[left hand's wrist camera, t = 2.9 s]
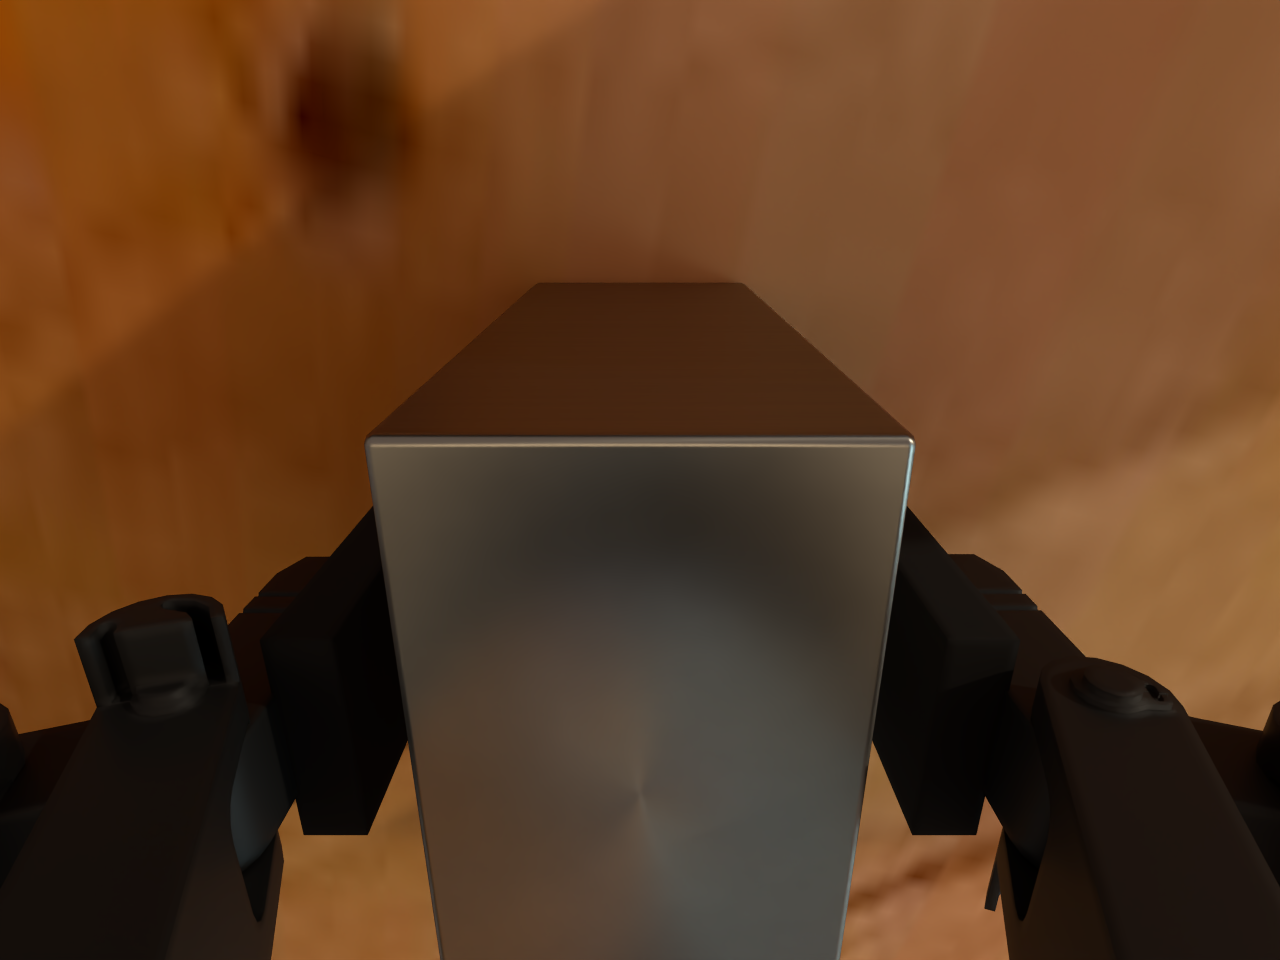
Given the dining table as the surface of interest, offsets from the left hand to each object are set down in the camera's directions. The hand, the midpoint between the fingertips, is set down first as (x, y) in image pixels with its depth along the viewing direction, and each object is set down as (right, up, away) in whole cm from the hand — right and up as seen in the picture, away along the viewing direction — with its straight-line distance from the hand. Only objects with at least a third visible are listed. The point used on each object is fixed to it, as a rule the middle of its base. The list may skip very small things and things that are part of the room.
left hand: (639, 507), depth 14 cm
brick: (0, +1, +3) cm, 4 cm away
